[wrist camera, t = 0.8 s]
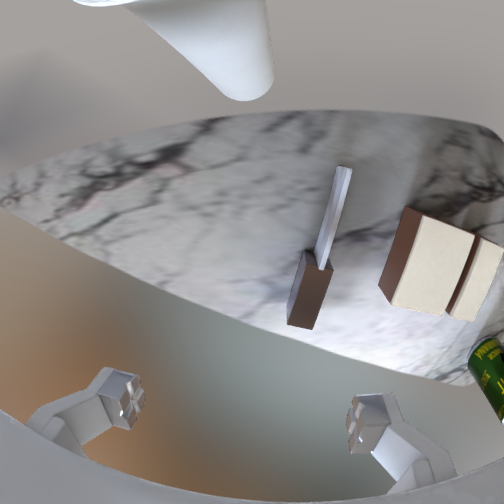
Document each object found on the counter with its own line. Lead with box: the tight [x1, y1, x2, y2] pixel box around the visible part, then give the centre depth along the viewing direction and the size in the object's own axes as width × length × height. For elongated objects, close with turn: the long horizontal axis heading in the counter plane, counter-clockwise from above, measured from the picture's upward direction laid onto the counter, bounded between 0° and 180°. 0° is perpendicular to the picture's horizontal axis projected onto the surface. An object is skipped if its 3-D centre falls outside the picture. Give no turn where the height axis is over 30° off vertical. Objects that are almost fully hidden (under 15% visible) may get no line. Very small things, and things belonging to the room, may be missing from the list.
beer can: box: [467, 336, 504, 426], centre depth 20 cm, size 5×5×12 cm
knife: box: [287, 166, 353, 330], centre depth 22 cm, size 13×2×4 cm, turn 168°
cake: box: [378, 206, 475, 316], centre depth 21 cm, size 8×6×4 cm
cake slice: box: [445, 228, 504, 322], centre depth 21 cm, size 8×3×4 cm, turn 168°
